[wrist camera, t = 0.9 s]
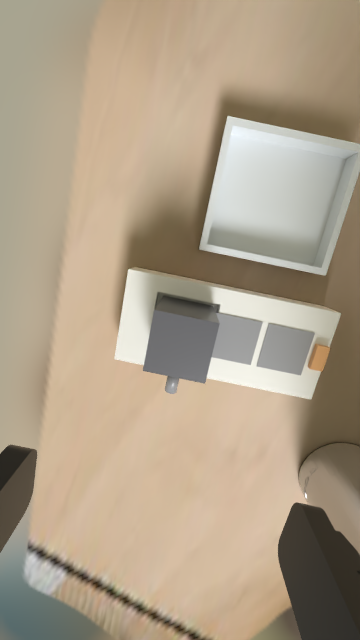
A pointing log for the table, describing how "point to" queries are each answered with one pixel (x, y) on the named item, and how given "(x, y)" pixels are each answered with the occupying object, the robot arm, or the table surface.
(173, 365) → the block
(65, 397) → the table surface
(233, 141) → the tray
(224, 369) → the power strip
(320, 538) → the robot arm
